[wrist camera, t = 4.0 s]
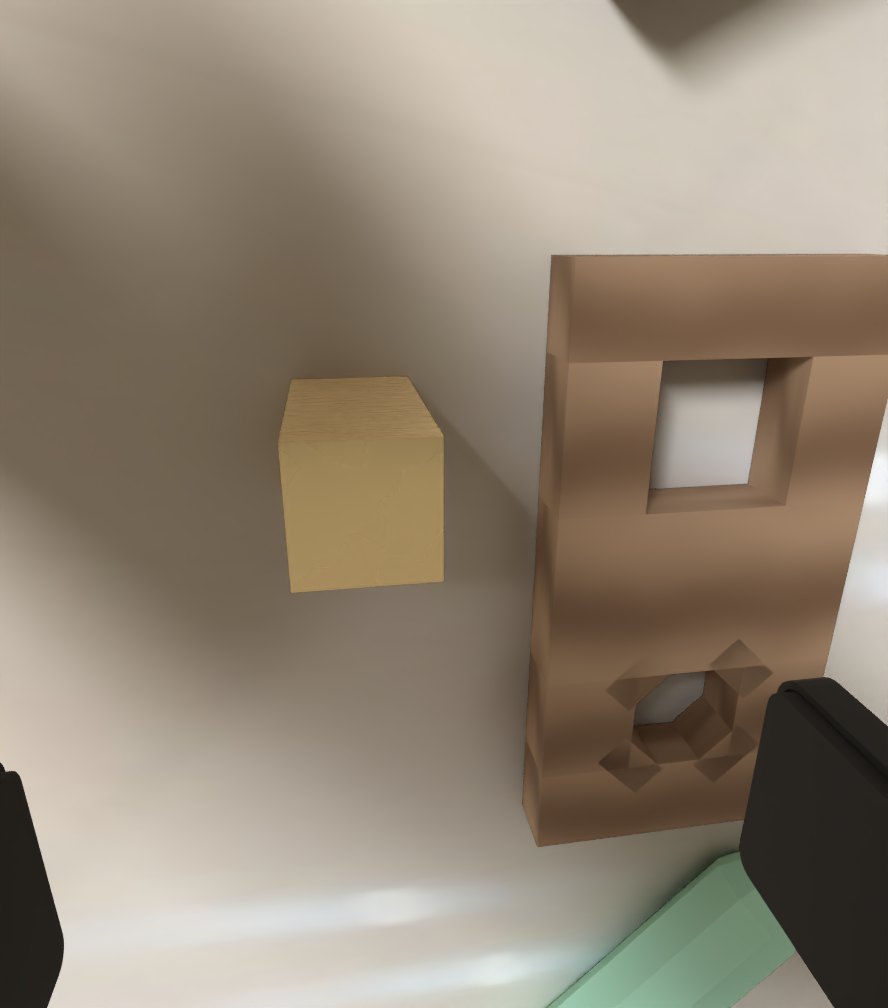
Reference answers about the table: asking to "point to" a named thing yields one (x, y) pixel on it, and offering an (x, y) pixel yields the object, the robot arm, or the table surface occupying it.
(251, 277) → the table surface
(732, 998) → the mint green tapered bar
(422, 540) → the square peg
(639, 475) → the socket block
